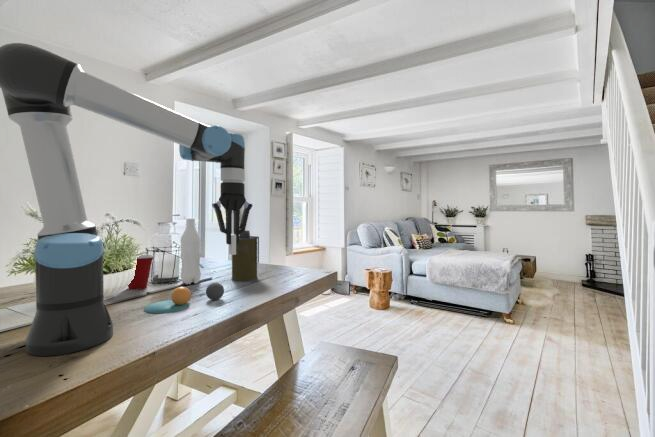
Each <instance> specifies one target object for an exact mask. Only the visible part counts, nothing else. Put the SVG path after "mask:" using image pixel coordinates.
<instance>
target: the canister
mask: <svg viewBox="0 0 655 437" xmlns="http://www.w3.org/2000/svg"><path fill="white" fill-rule="evenodd" d="M259 263H260V237H259V236H257V235H256V236H255V235H251V234H250V230H246V229H245V231H244V232H242V233H240V234H239V244H236V255H231V281H233V282H237V283H238V282H239V283H245V282H253V281H254V282H255V281H257V279H258V264H259Z"/></svg>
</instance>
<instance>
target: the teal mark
mask: <svg viewBox="0 0 655 437" xmlns="http://www.w3.org/2000/svg"><path fill="white" fill-rule="evenodd" d="M189 306H190V303H189V301H188V302H187V303H186V304H184V305H176V304H174V303H173V302H172V300H170V299H169V300H163V301H162V300H161V301H158V302H153V303H151V304H148V305H146V306H144V308H143V311H144V312H145V313H149V314H169V313H174V312H179V311H182V310H184V309H187V308H188V307H189Z"/></svg>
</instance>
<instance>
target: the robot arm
mask: <svg viewBox="0 0 655 437" xmlns="http://www.w3.org/2000/svg"><path fill="white" fill-rule="evenodd" d="M0 89H1V92H2V95H3V100H4V103H5V104H4V105H5V107H6V108H5V109H6V112H7V115H8V118H9V119H10V120H11V121H13V123H15V124H17V125H18V126H19V128H20V132H21V137H22V140H23V146H24V150H25V153H26V158H27V161H28V167H29V170H30V174H31V178H32V183H33V187H34V191H35V195H36V200H37V203H38V207H39V211H40V216H41V221H42V224H43V226H42V228H41V229H40V230H39V232H38V233H37V235H36V236H37V238H38V239H37V241H36V243H35V246H34V251H33V258H34V263H35V267H34V268H35V304H36V306H35V307H36V309H35V310H36V312H35V315H34V317H33V319H32V322H31V326H30V328H29V330H28V334H27V335H26V338H25V352H26V353H27V354H29V355H32V356H37V357H38V356H41V357H45V356H46V357H49V356H58V355H65V354H70V353H71V354H72V353H75V352H79V351H83V350H86V349H90V348H93V347H95V346H98V345H100V344H102V343H104V342H106V341H107V340H109V339H110V338H111V337H112V336H113V335H114V324H113V321H112V318H111V316H110V313H109V311H108V309H107V306H106V305H105V300H104V253H105V248H104V245H103V240H102V238H101V236H99V234H98V231H97V226H96V224H94V223H93V222H90V221H89V220H88V218H87V214H86V208H85V204H84V201H83V196H82V195H83V194H82V192H81V186H80V181H79V177H78V172H77V168H76V163H75V159H74V154H73V149H72V144H71V141H70V137H69V132H68V127H67V126H68V125H69V124H70V123H71V122H72V121H73V114H72V110H71V106H76V107H79V108H80V109H84V110H87V111H89V112H93V113H95V114H97V115H100V116H103V117H105V118H108V119H111V120H113V121H116V122H119V123H121V124H123V125H126V126H130V127H132V128H135V129H138V130H140V131H143V132H145V133H148V134H150V135H153V136H156V137H159V138H162V139H164V140H166V141H170V142H172V143H174V144H177V145H179V147H178V148H179V149H178V150H179V156H180V157H181V159H182V160H185V161H191V162H206V163H216V164H217V163H219V164H220V181H221V183H220V196H219V198H218V201H216V202H214V203H212V204H211V207H212V208H213V210H214V211H215V216H216V219H217V224H218V227H219V232H220V233H222V234H225V241H226V242H225V243H226V245H229V246H228V247H229V248H228V254H229V255H231V256H232V255H236V244H239V236H240V233H242V232H244V231H246V229H247V228H246V227H247V223H248V219H249V214H250V210H251V209H252V208H253V204H252V203H249V202H248V201H246V200H247V199H246V196H245V183H244V182H245V179H246V178H245V156H246V155H245V152H246V147H245V146H246V144H245V138H244V136H243V135H242V134H240V133H236V132H228V130H227V129H226V128H225V127H222V126H220V125H208V124H205V123H203V122H200V121H198V120H195V119H192V118H191V117H188V116H186V115H184V114H182V113H179V112H176V111H174V110H173V109H171V108H167V107H166V106H164V105H161V104H159V103H156V102H154V101H152V100H149V99H147V98H144V97H142V96H140V95H137V94H135V93H133V92H131V91H129V90H126V89H124V88H122V87H119V86H117V85H114V84H112V83H111V82H108V81H106V80H103V79H101V78H98V77H96V76H94V75H92V74H89V73H87V72H86V71H84V70H83V69H82V67H81V65H80V64H78V63H77V62H74V61H72V60H69V59H67V58H65V57H62V56H60V55H58V54H56V53H53V52H51V51H49V50H46V49H44V48H41V47H39V46H37V45H33V44H28V43H22V42H12V43H6V44H4V45H1V46H0ZM221 207H223V209H224V210H225V222H224V217H223V214H222V210H221ZM242 208H244V209H243V211H242V216H241V220H240V214H241V209H242ZM232 216H233V217H232ZM232 218H233V221H232ZM232 222H233V226H232ZM232 227H233V233H232Z"/></svg>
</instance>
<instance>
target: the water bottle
mask: <svg viewBox="0 0 655 437" xmlns="http://www.w3.org/2000/svg"><path fill="white" fill-rule="evenodd" d="M201 241H202V240H201V236H200V234H199V232H198V230H197V229H196V219H195V218H186V223H185V230H184V232H182V235H181V237H180V259H181V272H180V280H181V283H182V284H184V283H185V285H188V284H189V285H191V284H192V283H193V284H198V283H199V282H200V279H201V277H202V272H201V267H200V261H201V257H202V256H201V255H202V254H201Z"/></svg>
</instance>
